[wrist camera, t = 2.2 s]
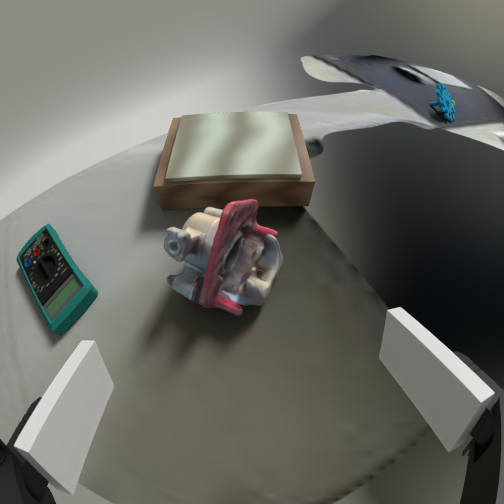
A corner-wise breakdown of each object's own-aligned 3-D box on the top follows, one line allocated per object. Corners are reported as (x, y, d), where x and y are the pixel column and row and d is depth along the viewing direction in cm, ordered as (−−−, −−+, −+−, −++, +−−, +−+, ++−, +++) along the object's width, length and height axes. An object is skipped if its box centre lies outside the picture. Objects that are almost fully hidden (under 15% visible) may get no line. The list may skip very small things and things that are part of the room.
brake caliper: (277, 343, 23) (177, 264, 16) (199, 323, 30) (116, 262, 23) (316, 240, 28) (252, 147, 21) (240, 244, 36) (177, 176, 29)
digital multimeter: (55, 229, 32) (45, 217, 30) (102, 296, 28) (90, 286, 25) (23, 263, 29) (12, 254, 27) (64, 339, 25) (49, 332, 22)
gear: (446, 119, 46) (436, 80, 43) (427, 121, 51) (417, 84, 48) (461, 121, 50) (452, 86, 47) (443, 123, 55) (435, 89, 52)
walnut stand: (162, 210, 33) (151, 183, 28) (177, 140, 40) (172, 114, 35) (308, 206, 33) (316, 177, 29) (293, 137, 40) (297, 110, 36)
